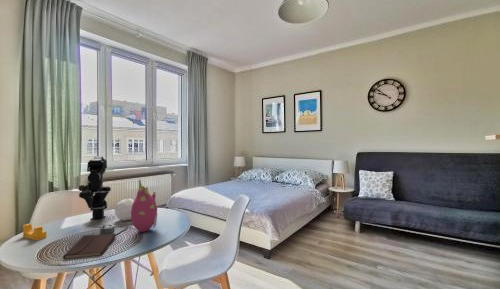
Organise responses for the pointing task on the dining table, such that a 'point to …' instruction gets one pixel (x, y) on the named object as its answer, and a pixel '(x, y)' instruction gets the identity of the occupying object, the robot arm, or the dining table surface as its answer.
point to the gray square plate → (116, 231)
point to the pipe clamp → (33, 232)
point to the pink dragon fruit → (144, 210)
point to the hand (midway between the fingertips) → (95, 205)
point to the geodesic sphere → (124, 209)
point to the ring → (107, 229)
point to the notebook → (90, 246)
